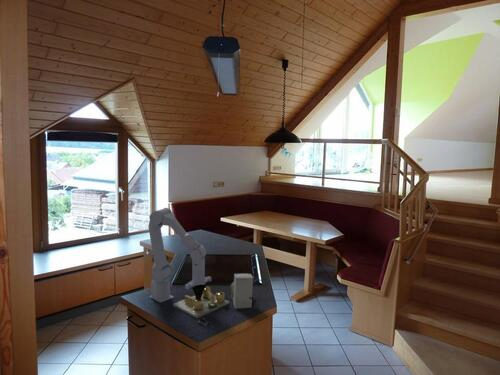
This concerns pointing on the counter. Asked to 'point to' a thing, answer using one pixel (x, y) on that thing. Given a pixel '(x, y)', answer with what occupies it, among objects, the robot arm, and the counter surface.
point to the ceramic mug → (232, 290)
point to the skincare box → (242, 291)
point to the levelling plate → (207, 305)
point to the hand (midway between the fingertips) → (198, 299)
